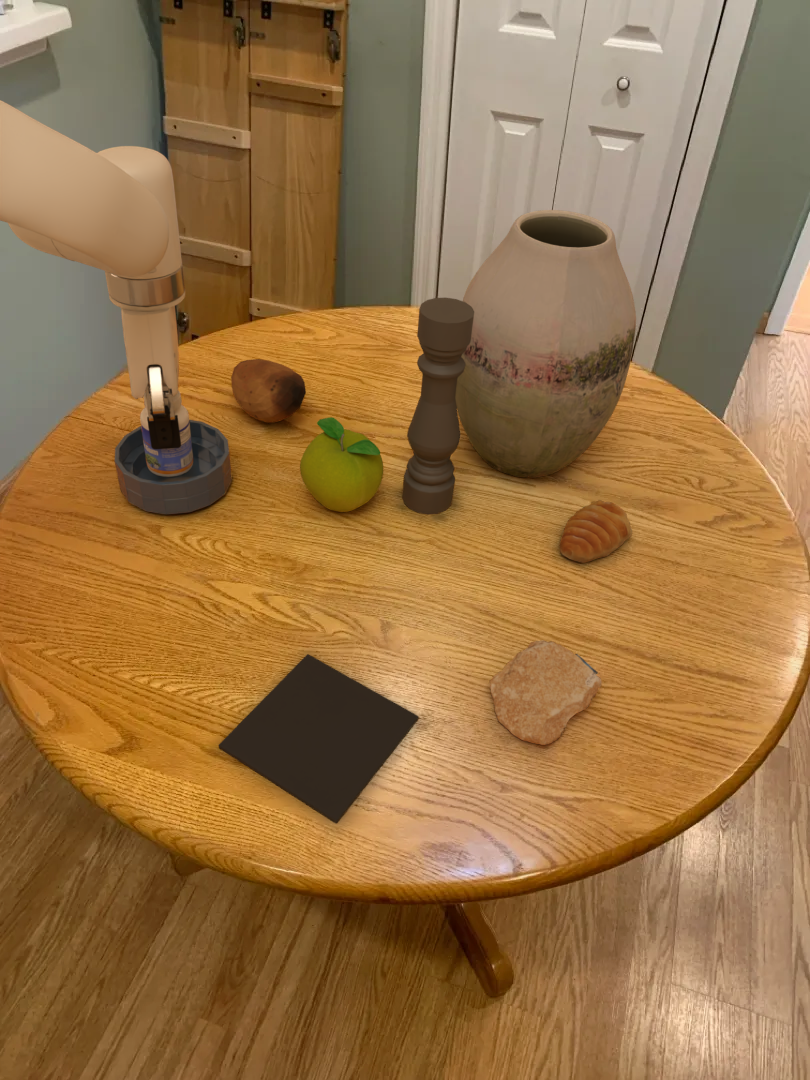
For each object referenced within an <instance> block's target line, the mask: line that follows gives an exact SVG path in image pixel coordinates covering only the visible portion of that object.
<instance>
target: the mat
mask: <svg viewBox="0 0 810 1080" xmlns="http://www.w3.org/2000/svg"><path fill="white" fill-rule="evenodd" d="M418 720H419V715H417V714H416V713H414V712H412V711H410V710H409V709H407V708H405V707H403V706H402V705H399V704H398V703H397V702H394V701H393V700H391V699H389V698H387V697H386V696H384V695H382V694H380V693H378V692H376V691H374V690H373V689H372V688H369V687H367V686H365V685H364V684H363V683H361V682H359V681H357V680H355V679H354V678H351V677H350V676H347V675H346V674H344V673H342V672H341V671H339V670H338V669H336V668H333V667H332V666H330V665H329V664H326V663H325V662H323V661H321V660H319V659H318V658H316V657H314V656H312V655H310V654H309V653H307V654H306V655H305V656H304V657H303V658H302V659H301V660H300V661H299V662H298V663H297V664H296V665H295V666H294V667H293V668H292V669H291V670H290V671H289V672H288V673H287V675H285V677H283V678H282V679H281V680H280V682H279V683H278V684H277V685H275V687H274V688H273V689H272V690H271V691H270V692H269V693H267V695H265V697H264V698H263V699H262V700H261V701H260V702H259V703H258V704H257V705H256V706H255V707H254V708H253V709H252V710H251V711H250V712H249V713H248V714H247V715H246V716H245V717H244V718H243V719H242V720H241V721H240V723H238V724H237V725H236V726H235V728H234V729H232V730H231V732H230V733H229V734H228V735H227V736H226V737H224V739H223V740H222V741H221V742H220V743H219V744H218V749H219V750H221V751H222V752H224V753H226V754H227V755H229V756H230V757H232V758H234V759H235V760H236V761H238V762H240V763H241V764H243V765H244V766H246V767H247V768H249V769H251V770H252V771H254V772H255V773H257V774H258V775H259V776H261V777H263V778H265V779H266V780H268V781H269V782H271V783H272V784H274V785H275V786H277V787H278V788H280V789H281V790H283V791H284V792H286V793H288V794H289V795H290V796H292V797H294V798H296V799H297V800H298V801H300V802H302V803H303V804H305V805H306V806H308V807H309V808H311V809H312V810H314V811H316V812H317V813H319V814H320V815H322V816H323V817H325V818H327V819H328V820H330V821H331V822H333V823H335V824H336V825H337V824H338V823H339V822H340V820H341V819H342V818H343V816H344V815H345V814H346V812H347V811H348V810H349V809H350V807H351V806H352V805H353V804H354V802H356V800H357V799H358V798H359V796H360V794H361V793H362V792H363V791H364V790H365V788H366V787H367V786H368V784H369V783H370V782H371V780H372V779H373V778H374V777H375V775H376V774H377V773H378V772H379V770H380V769H381V768H382V767H383V765H384V764H385V763H386V761H387V760H388V758H390V756H391V755H392V754H393V752H394V751H395V750H396V749H397V747H398V746H399V745H400V743H401V742H402V741H403V740H404V738H405V737H406V736H407V734H408V733H410V731H411V729H412V728H413V727H414V726H415V724H416V723H417V722H418Z"/></svg>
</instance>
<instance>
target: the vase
mask: <svg viewBox="0 0 810 1080" xmlns="http://www.w3.org/2000/svg"><path fill="white" fill-rule="evenodd" d="M462 301H463V302H466V303H467V304H468V305H470V306H471V307H472V308H473V310H474V319H473V327H472V335H471V341H470V344H469V345H468V346H467V349H466V351H465V352H464V353H463V354H462V358H463V359H464V361H465V364H466V365H465V369H464V372H463V373H462V374H461V375H460V376H459V377H458V378H457V387H456V395H455V399H456V406H457V413H458V419H459V420H460V423H461V426H462V429H463V431H464V433H465V434H466V437H467V438H468V441H469V442H470V444H471V446H472V447H473V449H474V450H475V452H476V453H477V454H478V455H479V456H480V457H481V459H482V460H483V461H484V462H485V463H486V464H488V465H489V466H491V467H492V468H493V469H495V470H497V471H498V472H500V473H504V474H506V475H509V476H510V475H511V476H513V477H516V478H525V479H526V478H531V479H536V478H542V477H546V476H550V475H552V474H554V473H555V474H556V473H557V472H559V471H561V470H563V469H564V468H566V467H567V466H569V465H570V464H572V463H573V462H574V461H576V460H577V459H578V458H579V457H581V455H583V454H584V453H586V451H587V450H589V448H590V447H591V446H592V444H593V443H594V442H595V440H596V439H597V438H598V437H599V435H601V433H602V431H603V430H604V428H605V427H606V426H607V424H608V422H609V421H610V419H611V417H612V415H613V414H614V412H615V409H616V408H617V406H618V403H619V401H620V399H621V396H622V393H623V390H624V388H625V384H626V380H627V377H628V374H629V371H630V370H629V369H630V365H631V361H632V356H633V350H634V341H635V336H636V328H637V311H636V305H635V299H634V295H633V291H632V288H631V285H630V283H629V280H628V276H627V275H626V272H625V269H624V267H623V265H622V262H621V259H620V256H619V253H618V249H617V242H616V235H615V233H614V231H613V229H612V228H611V227H610V226H608V225H607V224H606V223H604V222H603V221H601V220H599V219H597V218H595V217H593V216H590V215H587V214H583V213H579V212H575V211H569V210H560V209H541V210H534V211H530V212H527V213H524V214H521V215H520V216H518V217H517V218H516V219H515V220H514V222H513V223H512V225H511V227H510V228H509V231H508V232H507V234H506V235H505V237H504V238H503V239H502V240H501V242H500V243H499V244H498V245H497V246H496V247H495V249H494V250H493V251H492V252H491V253H490V254H489V256H488V257H487V258H486V259H485V261H484V262H483V263H482V264H481V265H480V266H479V268H478V270H477V271H476V272H475V274H474V275H473V277H472V278H471V280H470V282H469V284H468V286H467V287H466V290H465V292H464V294H463V297H462Z"/></svg>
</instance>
